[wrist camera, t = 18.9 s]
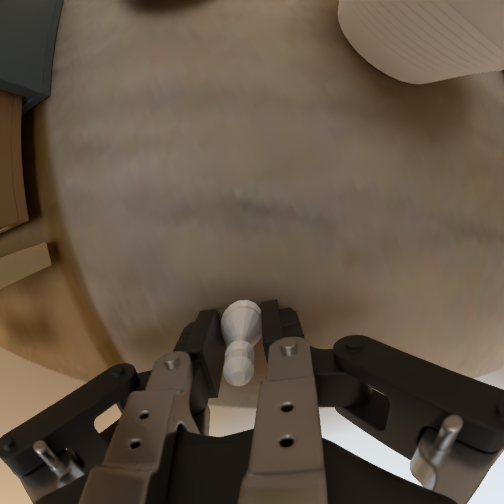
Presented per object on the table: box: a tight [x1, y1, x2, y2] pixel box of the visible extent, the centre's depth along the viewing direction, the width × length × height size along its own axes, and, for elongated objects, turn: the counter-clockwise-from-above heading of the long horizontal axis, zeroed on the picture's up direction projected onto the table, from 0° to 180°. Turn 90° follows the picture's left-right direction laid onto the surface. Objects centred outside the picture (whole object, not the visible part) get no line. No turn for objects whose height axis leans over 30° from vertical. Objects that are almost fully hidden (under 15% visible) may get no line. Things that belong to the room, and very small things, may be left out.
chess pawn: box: [220, 300, 262, 386], centre depth 10 cm, size 3×2×4 cm
